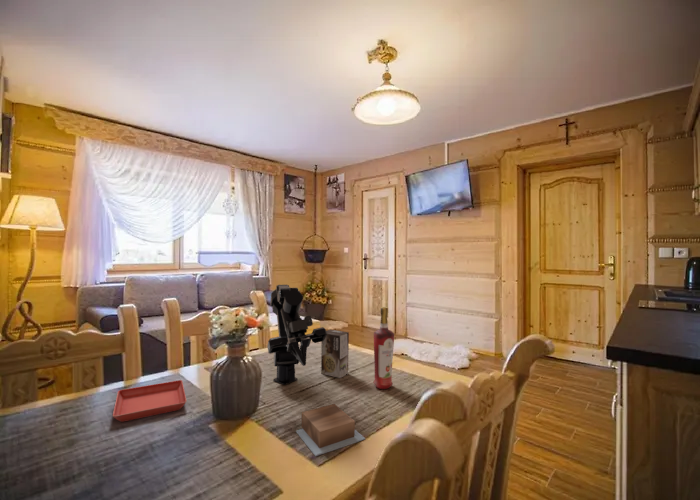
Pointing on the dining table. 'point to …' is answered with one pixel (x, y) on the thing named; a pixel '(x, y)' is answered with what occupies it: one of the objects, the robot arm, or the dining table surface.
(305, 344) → the robot arm
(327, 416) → the walnut block
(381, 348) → the liquor
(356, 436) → the mat
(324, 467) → the dining table surface
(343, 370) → the coffee box
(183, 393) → the plant saucer
